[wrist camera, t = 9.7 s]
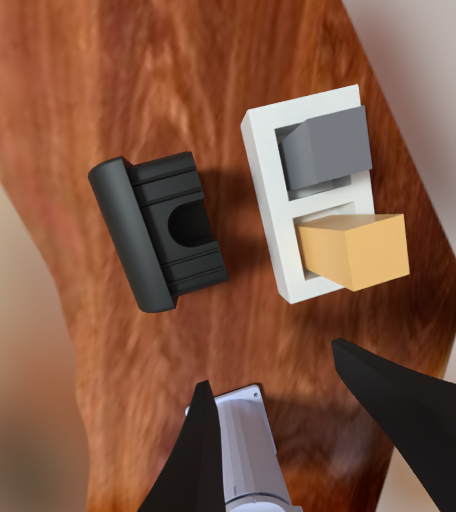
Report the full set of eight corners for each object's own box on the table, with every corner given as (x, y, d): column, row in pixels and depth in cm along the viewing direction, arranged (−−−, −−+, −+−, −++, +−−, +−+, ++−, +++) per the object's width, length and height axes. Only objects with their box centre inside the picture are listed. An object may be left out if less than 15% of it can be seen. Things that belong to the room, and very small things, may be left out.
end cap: (110, 184, 19) (66, 168, 13) (190, 163, 20) (187, 137, 13) (150, 291, 21) (129, 324, 15) (222, 268, 22) (233, 291, 15)
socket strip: (359, 268, 24) (417, 286, 18) (278, 292, 23) (309, 321, 17) (335, 103, 21) (395, 53, 14) (240, 125, 20) (260, 84, 14)
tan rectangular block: (336, 254, 23) (409, 273, 15) (299, 265, 22) (353, 291, 15) (330, 214, 22) (403, 213, 14) (291, 225, 22) (344, 231, 14)
